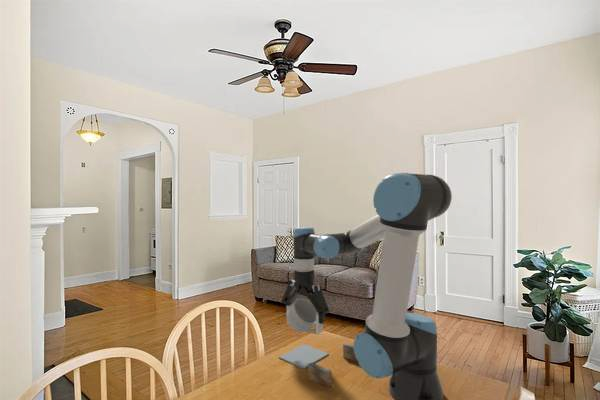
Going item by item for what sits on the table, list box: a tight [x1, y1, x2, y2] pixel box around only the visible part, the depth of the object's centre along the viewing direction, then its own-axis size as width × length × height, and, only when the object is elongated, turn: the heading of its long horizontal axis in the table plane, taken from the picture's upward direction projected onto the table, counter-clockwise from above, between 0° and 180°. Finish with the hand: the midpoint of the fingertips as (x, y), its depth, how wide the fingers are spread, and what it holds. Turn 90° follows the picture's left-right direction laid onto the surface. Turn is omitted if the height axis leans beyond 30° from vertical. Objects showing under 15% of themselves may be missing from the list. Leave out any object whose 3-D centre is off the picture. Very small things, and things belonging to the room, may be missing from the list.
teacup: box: [285, 297, 320, 335], centre depth 122 cm, size 14×11×8 cm
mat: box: [278, 343, 330, 370], centre depth 123 cm, size 12×14×1 cm
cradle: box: [308, 342, 359, 389], centre depth 113 cm, size 8×21×5 cm, turn 138°
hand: (304, 327), depth 123 cm, fingers closed on teacup, 13 cm apart
